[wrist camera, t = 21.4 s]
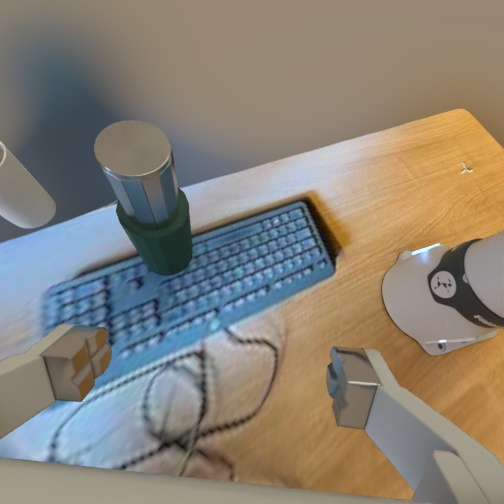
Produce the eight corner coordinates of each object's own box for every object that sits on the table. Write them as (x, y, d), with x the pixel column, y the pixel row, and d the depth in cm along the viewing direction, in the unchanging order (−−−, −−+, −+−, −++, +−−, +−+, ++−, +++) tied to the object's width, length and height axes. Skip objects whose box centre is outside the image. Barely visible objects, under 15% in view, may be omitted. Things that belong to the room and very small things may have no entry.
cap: (180, 188, 30) (173, 124, 21) (177, 231, 28) (168, 179, 19) (129, 184, 29) (100, 115, 20) (122, 228, 27) (87, 172, 18)
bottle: (193, 232, 43) (188, 157, 27) (191, 275, 40) (184, 221, 24) (146, 230, 42) (110, 150, 25) (140, 275, 39) (97, 217, 22)
